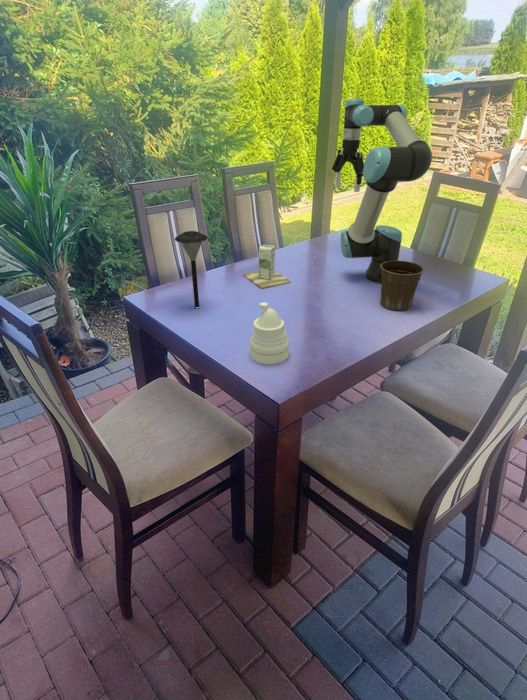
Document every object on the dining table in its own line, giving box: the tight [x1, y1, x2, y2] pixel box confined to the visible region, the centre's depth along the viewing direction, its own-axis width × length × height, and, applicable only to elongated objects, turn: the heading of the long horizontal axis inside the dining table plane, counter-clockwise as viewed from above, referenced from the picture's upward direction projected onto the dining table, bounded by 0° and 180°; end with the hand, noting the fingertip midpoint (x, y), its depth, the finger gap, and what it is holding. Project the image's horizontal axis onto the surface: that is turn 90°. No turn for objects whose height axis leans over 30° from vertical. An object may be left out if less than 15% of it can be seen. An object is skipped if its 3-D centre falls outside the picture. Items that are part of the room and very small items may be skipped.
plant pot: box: [379, 259, 424, 312], centre depth 177 cm, size 16×16×16 cm
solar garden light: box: [174, 230, 209, 308], centre depth 170 cm, size 12×12×30 cm
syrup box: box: [258, 244, 276, 280], centre depth 200 cm, size 6×6×14 cm
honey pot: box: [249, 301, 290, 366], centre depth 143 cm, size 13×13×18 cm
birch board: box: [242, 270, 291, 290], centre depth 204 cm, size 18×15×1 cm
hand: (346, 189), depth 207 cm, fingers open, 13 cm apart
